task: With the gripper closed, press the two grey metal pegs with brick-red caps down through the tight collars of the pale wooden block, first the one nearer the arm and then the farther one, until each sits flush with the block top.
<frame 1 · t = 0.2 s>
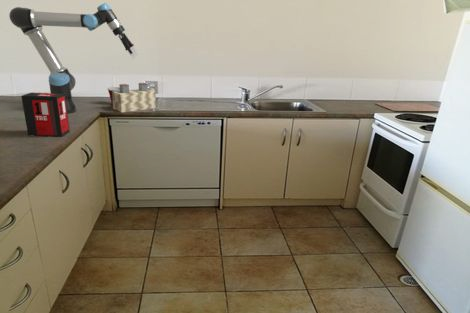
hand: (136, 56, 228), 34 cm above the counter, tool tilted 30°, fingers open, 13 cm apart
peg near: (124, 91, 225), point 13 cm above the counter, slide at 0.0 cm
plastic cup: (116, 105, 242), on the counter
peg far: (143, 89, 234), point 13 cm above the counter, slide at 0.0 cm
cleaning product box: (49, 134, 171), on the counter
collar block: (135, 108, 234), on the counter
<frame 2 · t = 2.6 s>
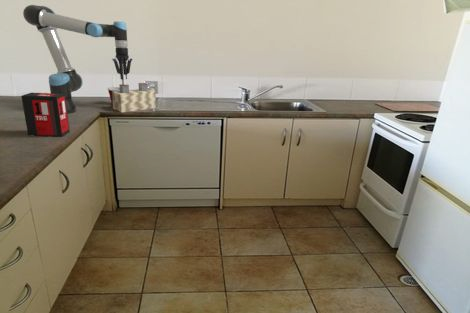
hand: (124, 84, 223), 17 cm above the counter, tool pointing down, fingers closed
peg near: (124, 91, 225), point 12 cm above the counter, slide at 0.1 cm, touching gripper
everything else where it was.
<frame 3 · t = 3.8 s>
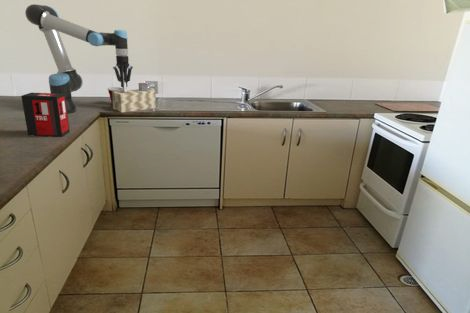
hand: (124, 91, 225), 12 cm above the counter, tool pointing down, fingers closed
peg near: (125, 98, 226), point 7 cm above the counter, slide at 5.1 cm, touching gripper
everything else where it was.
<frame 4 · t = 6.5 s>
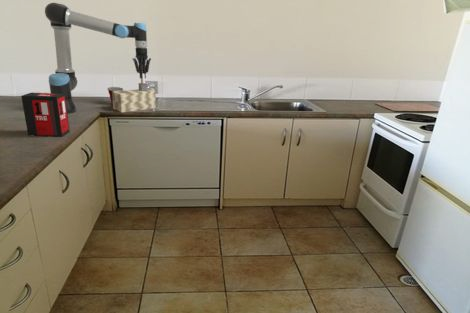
hand: (143, 83, 232), 17 cm above the counter, tool pointing down, fingers closed
peg near: (125, 98, 226), point 7 cm above the counter, slide at 5.1 cm
peg far: (143, 89, 234), point 12 cm above the counter, slide at 0.1 cm, touching gripper
everything else where it was.
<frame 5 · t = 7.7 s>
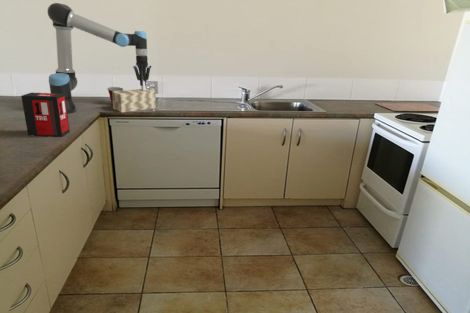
hand: (143, 90, 234), 12 cm above the counter, tool pointing down, fingers closed
peg far: (143, 97, 236), point 7 cm above the counter, slide at 5.1 cm, touching gripper
everything else where it was.
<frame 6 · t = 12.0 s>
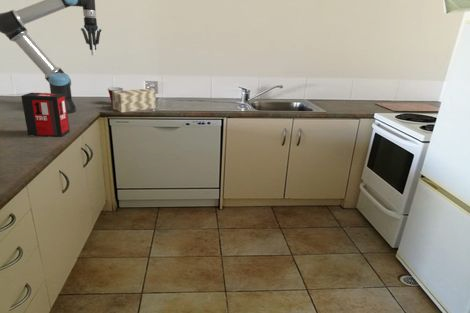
hand: (93, 55, 224), 34 cm above the counter, tool pointing down, fingers closed
peg far: (143, 97, 236), point 7 cm above the counter, slide at 5.1 cm
everything else where it was.
at the end: peg near slide at 5.1 cm; peg far slide at 5.1 cm; plastic cup moved 0.2 cm from its start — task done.
